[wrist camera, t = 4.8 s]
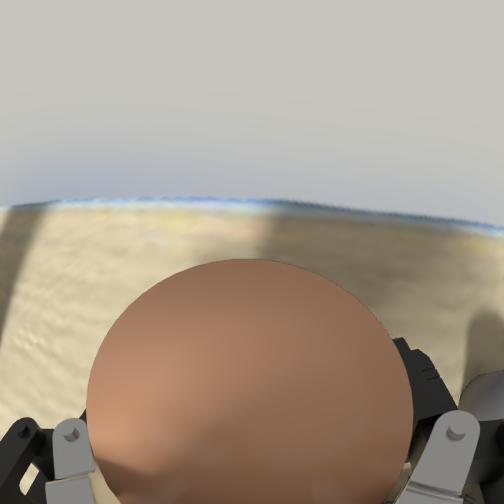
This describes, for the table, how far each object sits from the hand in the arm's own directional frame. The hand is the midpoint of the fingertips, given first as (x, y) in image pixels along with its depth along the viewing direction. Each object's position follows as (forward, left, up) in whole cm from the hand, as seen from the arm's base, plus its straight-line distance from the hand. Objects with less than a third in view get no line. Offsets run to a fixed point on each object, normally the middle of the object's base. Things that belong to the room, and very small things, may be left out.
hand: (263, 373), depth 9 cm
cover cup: (0, -1, -5) cm, 5 cm away
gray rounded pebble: (+12, 0, -5) cm, 13 cm away
